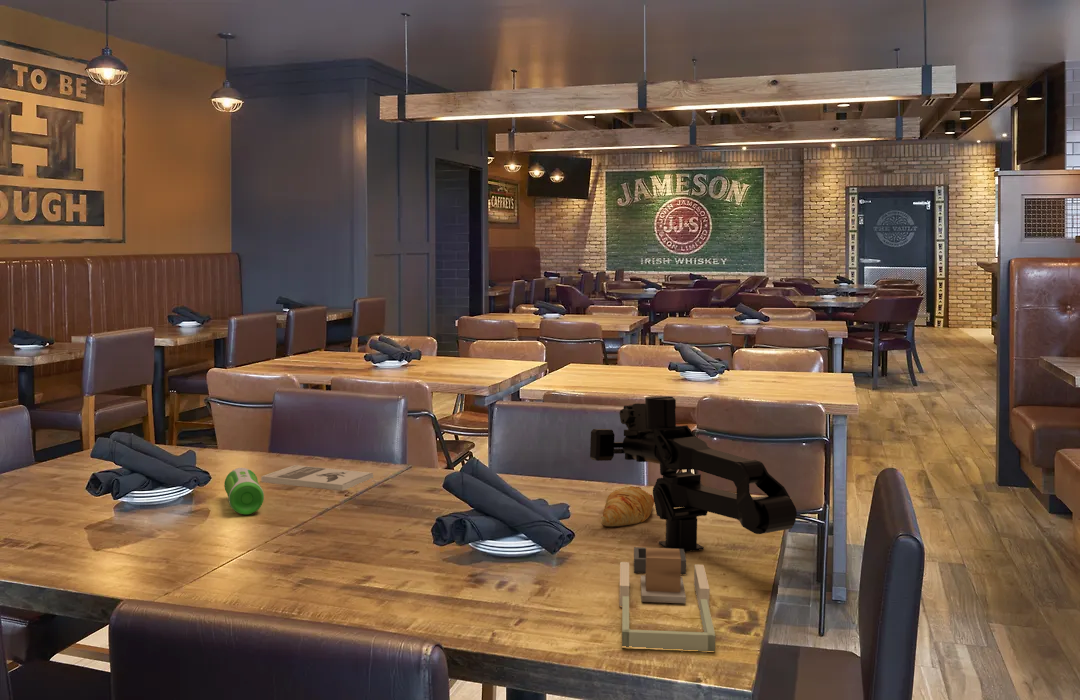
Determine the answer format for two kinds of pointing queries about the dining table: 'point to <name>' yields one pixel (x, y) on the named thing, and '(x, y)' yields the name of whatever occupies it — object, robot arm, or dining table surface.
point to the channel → (699, 582)
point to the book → (317, 477)
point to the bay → (670, 633)
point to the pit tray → (641, 560)
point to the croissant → (627, 507)
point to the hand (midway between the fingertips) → (609, 440)
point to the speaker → (243, 491)
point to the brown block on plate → (663, 577)
